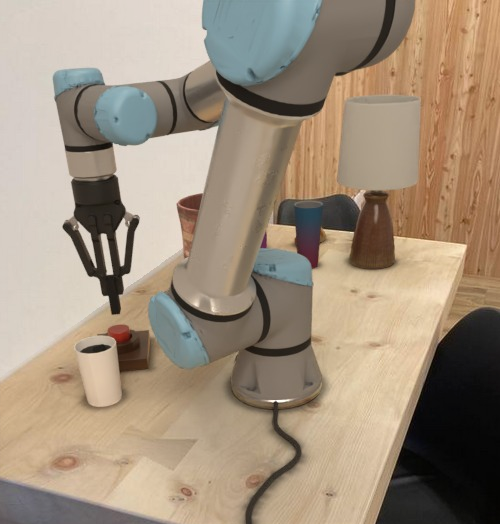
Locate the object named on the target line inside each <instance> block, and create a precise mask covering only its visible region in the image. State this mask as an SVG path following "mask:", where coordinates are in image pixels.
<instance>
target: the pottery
mask: <svg viewBox="0 0 500 524" xmlns="http://www.w3.org/2000/svg"><path fill="white" fill-rule="evenodd" d="M202 196H203V192H201V193H196V194H191V195H188V196H186V197H182V198H181V199H179V200H178V202H176V209H177V214H178V219H179V222H180V230H181V237H182V238H181V239H182V249H183V251H182V252H183V259H185V258H187V257H189V253H190V248H191V244H192V239H193V235H194V231H195V226H196V222H197V218H198V213H199V209H200V205H201V200H202Z"/></svg>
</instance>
